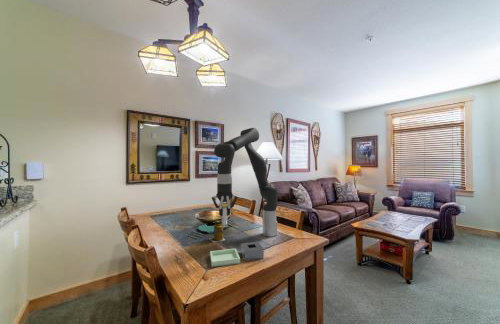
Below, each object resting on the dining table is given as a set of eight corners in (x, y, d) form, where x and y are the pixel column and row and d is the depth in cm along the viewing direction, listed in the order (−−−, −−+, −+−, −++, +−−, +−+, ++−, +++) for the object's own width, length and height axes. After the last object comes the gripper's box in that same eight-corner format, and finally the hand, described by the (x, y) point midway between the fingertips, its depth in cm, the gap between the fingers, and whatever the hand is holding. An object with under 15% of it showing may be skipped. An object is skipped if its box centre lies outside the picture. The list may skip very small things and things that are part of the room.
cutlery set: (230, 228, 156) (230, 225, 156) (198, 241, 132) (198, 237, 132) (212, 223, 168) (212, 220, 168) (180, 234, 144) (180, 231, 144)
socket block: (258, 250, 118) (258, 241, 118) (263, 258, 108) (263, 249, 108) (240, 252, 115) (240, 243, 115) (245, 260, 105) (245, 251, 105)
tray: (235, 252, 114) (235, 248, 114) (240, 263, 103) (240, 258, 103) (210, 255, 111) (210, 251, 111) (211, 267, 99) (211, 262, 99)
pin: (228, 224, 109) (228, 202, 109) (229, 227, 105) (229, 204, 105) (219, 225, 108) (219, 202, 108) (220, 228, 104) (220, 204, 104)
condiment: (225, 240, 133) (225, 221, 133) (213, 242, 128) (213, 223, 128) (220, 236, 139) (220, 218, 139) (208, 239, 134) (208, 220, 134)
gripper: (236, 181, 112) (236, 213, 112) (210, 182, 108) (210, 214, 108) (239, 182, 105) (239, 216, 105) (211, 183, 101) (211, 218, 101)
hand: (224, 215), depth 107 cm, fingers closed on pin, 3 cm apart
